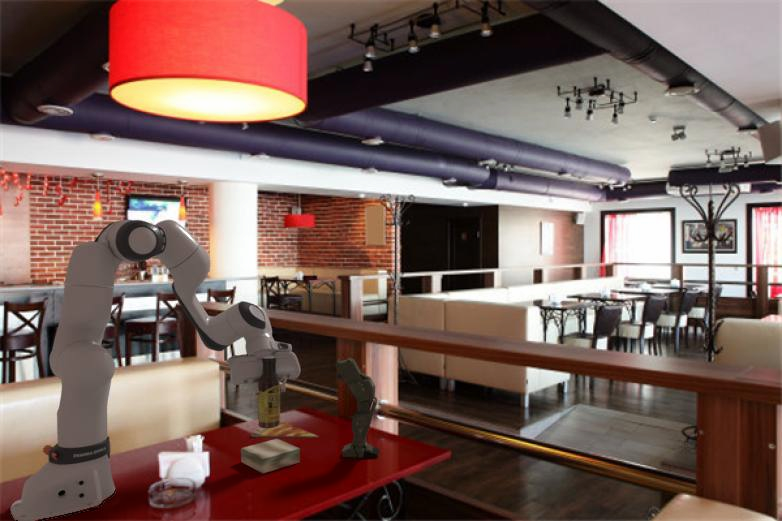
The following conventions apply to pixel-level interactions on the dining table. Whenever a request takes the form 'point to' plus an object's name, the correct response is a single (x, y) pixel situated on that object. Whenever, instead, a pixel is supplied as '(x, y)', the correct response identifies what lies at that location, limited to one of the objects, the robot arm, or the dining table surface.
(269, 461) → the grey flat block
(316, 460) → the dining table surface
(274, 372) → the sauce bottle
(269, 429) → the pizza slice
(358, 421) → the mechanical leg
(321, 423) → the dining table surface
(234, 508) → the dining table surface
